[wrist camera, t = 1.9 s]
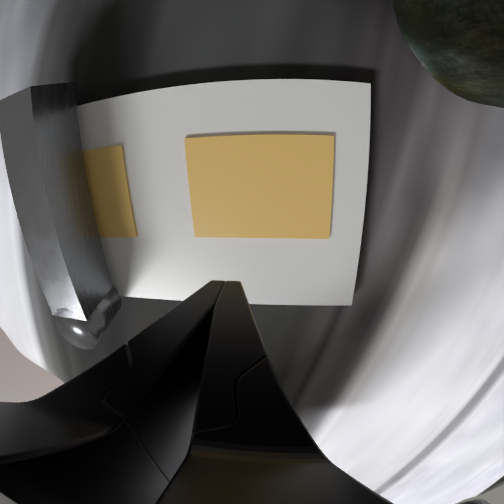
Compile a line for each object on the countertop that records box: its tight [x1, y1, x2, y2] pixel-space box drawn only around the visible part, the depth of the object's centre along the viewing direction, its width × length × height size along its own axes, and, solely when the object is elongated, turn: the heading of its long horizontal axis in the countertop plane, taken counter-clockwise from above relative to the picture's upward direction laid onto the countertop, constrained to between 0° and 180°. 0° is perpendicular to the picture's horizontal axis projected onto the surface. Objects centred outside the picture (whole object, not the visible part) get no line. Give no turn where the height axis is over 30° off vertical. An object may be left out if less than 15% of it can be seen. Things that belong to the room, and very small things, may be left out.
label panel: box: [77, 79, 371, 305], centre depth 19 cm, size 15×24×2 cm, turn 92°
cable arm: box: [0, 82, 121, 349], centre depth 17 cm, size 17×4×4 cm, turn 2°
